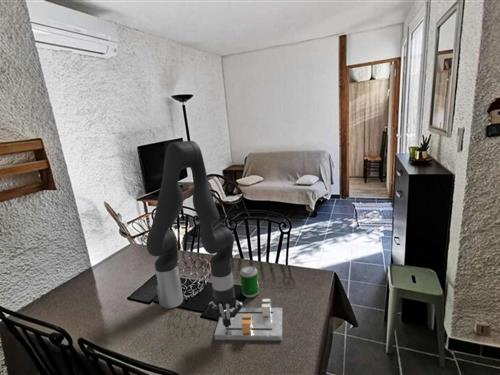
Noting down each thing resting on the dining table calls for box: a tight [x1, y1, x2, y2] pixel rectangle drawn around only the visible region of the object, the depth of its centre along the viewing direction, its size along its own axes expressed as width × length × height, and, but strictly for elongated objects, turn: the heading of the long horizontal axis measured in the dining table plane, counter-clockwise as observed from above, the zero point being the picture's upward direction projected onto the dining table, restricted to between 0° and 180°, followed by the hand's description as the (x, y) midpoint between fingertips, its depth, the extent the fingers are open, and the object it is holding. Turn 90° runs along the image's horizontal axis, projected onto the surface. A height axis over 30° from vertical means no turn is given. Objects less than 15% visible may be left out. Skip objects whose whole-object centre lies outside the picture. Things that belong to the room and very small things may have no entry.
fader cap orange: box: [242, 314, 252, 333], centre depth 106 cm, size 3×5×4 cm, turn 174°
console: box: [213, 307, 283, 341], centre depth 110 cm, size 24×16×2 cm, turn 84°
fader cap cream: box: [261, 298, 272, 316], centre depth 114 cm, size 3×5×4 cm, turn 174°
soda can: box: [239, 265, 260, 298], centre depth 129 cm, size 8×8×12 cm
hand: (227, 325), depth 107 cm, fingers closed
